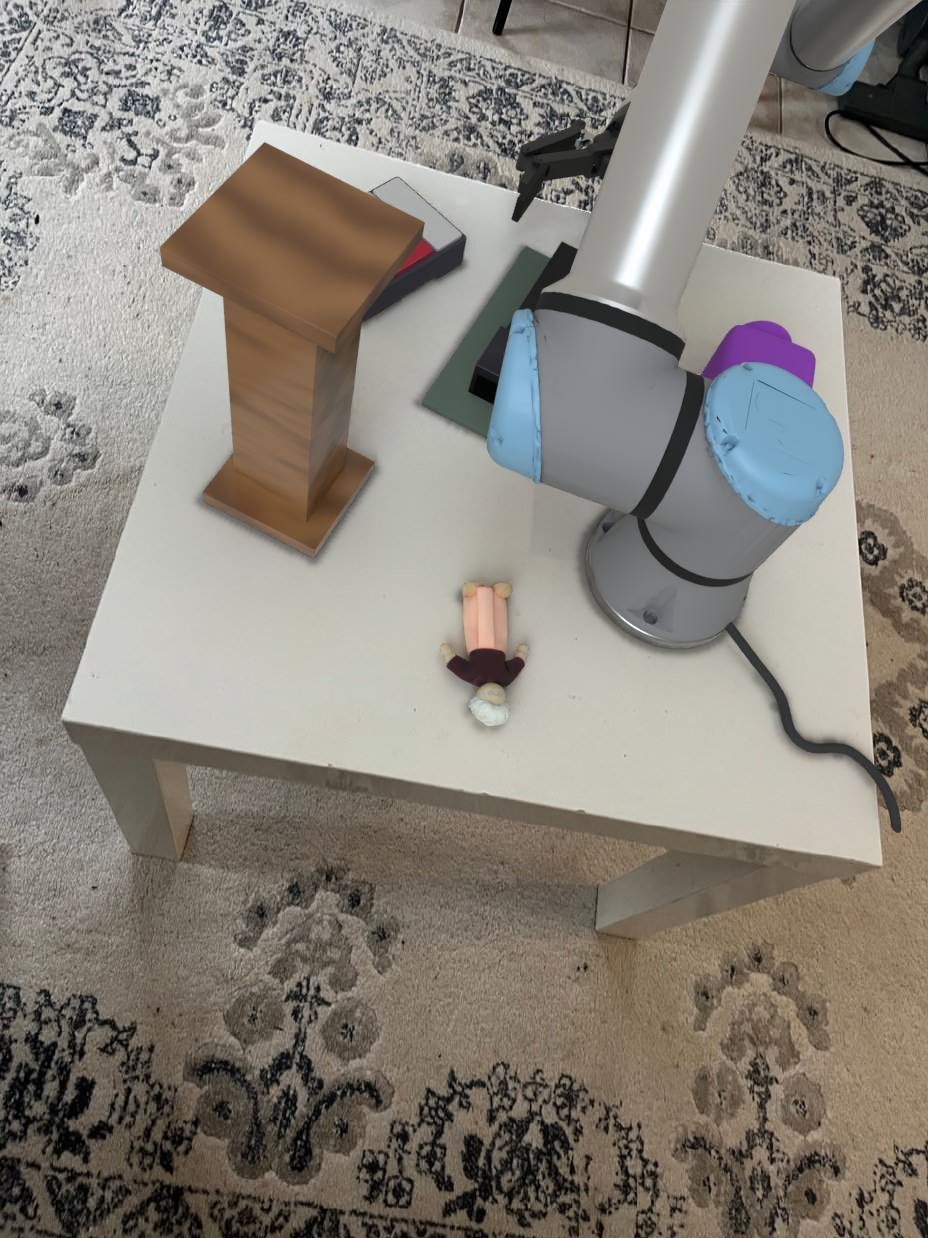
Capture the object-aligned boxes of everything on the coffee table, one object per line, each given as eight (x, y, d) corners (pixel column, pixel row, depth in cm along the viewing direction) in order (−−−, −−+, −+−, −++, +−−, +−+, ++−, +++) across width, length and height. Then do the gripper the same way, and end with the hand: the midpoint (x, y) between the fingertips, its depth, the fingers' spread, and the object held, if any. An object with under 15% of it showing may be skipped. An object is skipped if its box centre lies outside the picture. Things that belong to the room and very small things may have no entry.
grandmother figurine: (525, 576, 77) (541, 713, 71) (521, 598, 80) (536, 731, 74) (436, 579, 76) (444, 718, 70) (435, 601, 80) (443, 736, 74)
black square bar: (550, 261, 99) (561, 231, 95) (586, 278, 99) (598, 249, 95) (467, 391, 88) (475, 364, 85) (507, 411, 88) (516, 384, 85)
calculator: (287, 228, 89) (398, 168, 95) (288, 261, 93) (395, 201, 99) (361, 297, 87) (470, 231, 93) (359, 328, 91) (463, 263, 97)
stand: (267, 411, 84) (264, 140, 59) (380, 469, 83) (425, 221, 59) (194, 503, 78) (158, 246, 53) (316, 566, 78) (336, 336, 53)
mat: (524, 249, 100) (525, 245, 99) (612, 293, 99) (614, 289, 99) (421, 404, 87) (422, 400, 87) (521, 455, 87) (522, 452, 87)
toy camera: (774, 375, 98) (823, 308, 90) (781, 476, 92) (834, 415, 83) (681, 354, 97) (722, 284, 88) (682, 455, 91) (726, 391, 82)
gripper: (726, 207, 105) (670, 320, 95) (537, 114, 106) (461, 216, 96) (757, 150, 98) (700, 264, 88) (554, 51, 99) (475, 153, 89)
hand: (576, 239), depth 92 cm, fingers open, 13 cm apart
